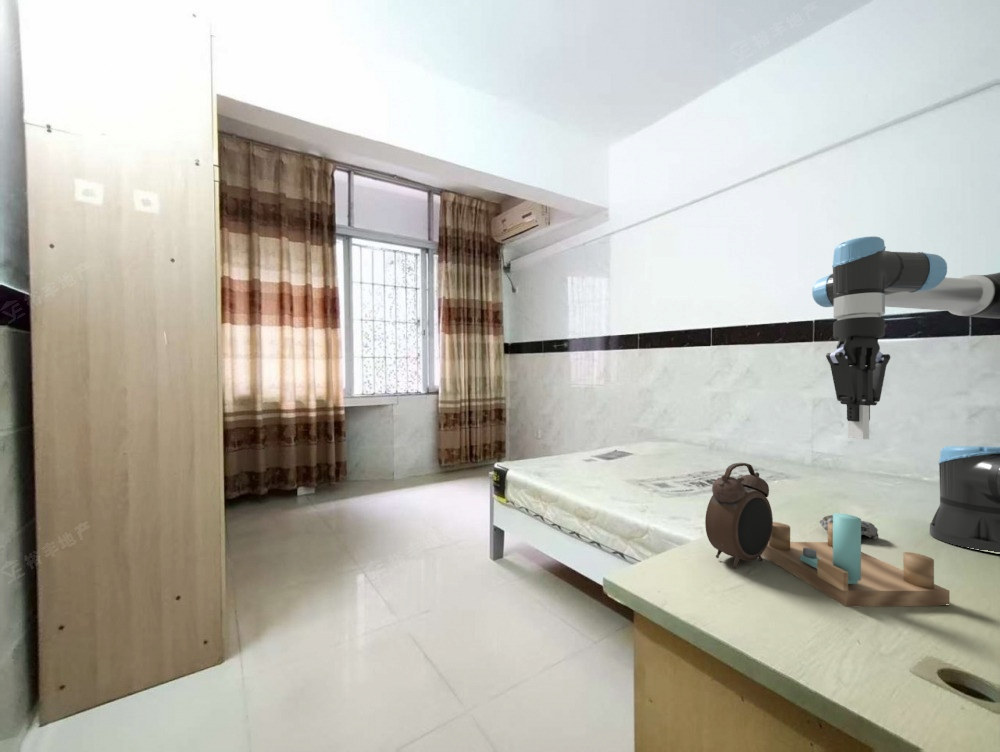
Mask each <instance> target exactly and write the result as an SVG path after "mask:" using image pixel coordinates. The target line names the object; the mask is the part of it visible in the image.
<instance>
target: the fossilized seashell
mask: <svg viewBox="0 0 1000 752" xmlns="http://www.w3.org/2000/svg"><path fill="white" fill-rule="evenodd" d="M830 522H833V514H831V515H830V514H829V515H825V516H824V517H823V518H822V519H821V520H819V524H820V525H821V526H822V528H823V530H825V532H827V533H828V523H830ZM878 531H879V530H878V528H877V527H875V524H873V523H872V522H869V521H864V520H861V536H862V535H863V536H866V537H868V539H871V540H874V541H876V540H878V538H879V534H878Z"/></svg>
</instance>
